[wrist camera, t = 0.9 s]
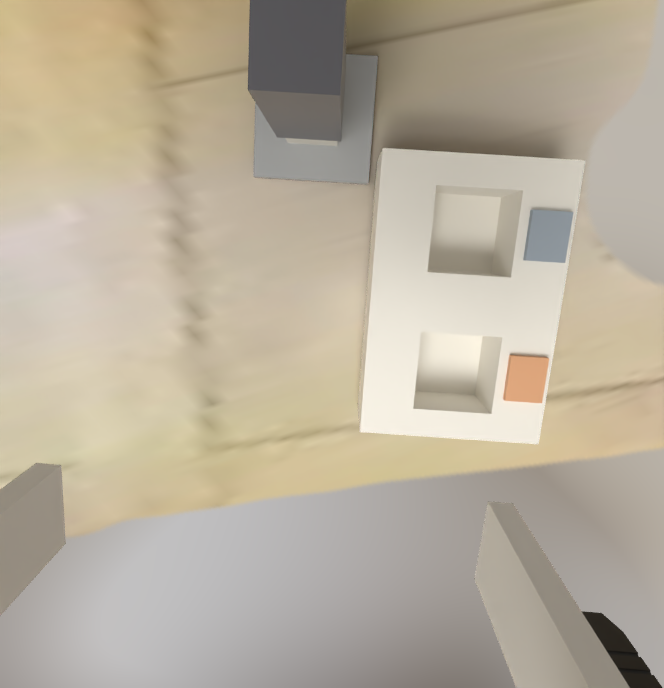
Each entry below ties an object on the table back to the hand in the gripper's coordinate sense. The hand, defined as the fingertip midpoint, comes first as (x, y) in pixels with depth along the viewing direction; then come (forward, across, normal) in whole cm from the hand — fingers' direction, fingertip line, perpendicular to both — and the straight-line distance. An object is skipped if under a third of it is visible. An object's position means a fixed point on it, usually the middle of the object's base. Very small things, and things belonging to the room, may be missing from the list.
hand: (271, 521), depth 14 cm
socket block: (+22, +10, +5) cm, 24 cm away
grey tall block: (+21, -1, +16) cm, 27 cm away
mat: (+22, -1, +16) cm, 27 cm away
